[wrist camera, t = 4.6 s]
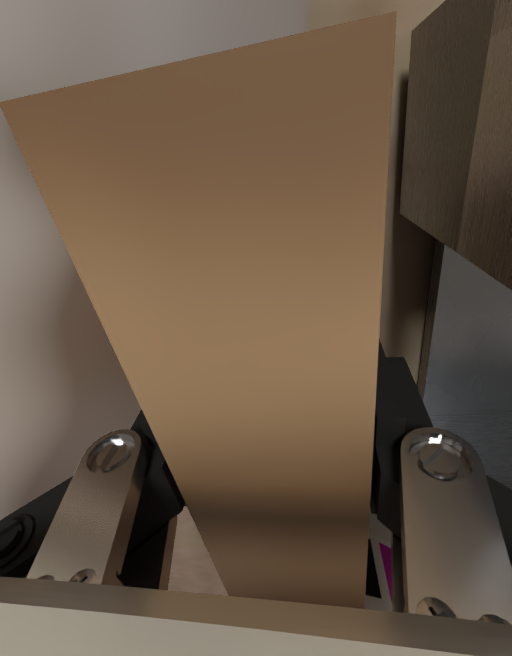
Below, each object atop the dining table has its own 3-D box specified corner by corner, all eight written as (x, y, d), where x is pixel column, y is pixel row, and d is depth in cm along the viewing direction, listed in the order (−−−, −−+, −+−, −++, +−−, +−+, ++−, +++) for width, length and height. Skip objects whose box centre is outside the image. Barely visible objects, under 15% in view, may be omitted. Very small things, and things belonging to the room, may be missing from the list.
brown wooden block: (165, 112, 8) (-2, 102, 3) (340, 77, 7) (395, 11, 3) (255, 474, 15) (237, 613, 11) (345, 476, 14) (363, 626, 10)
